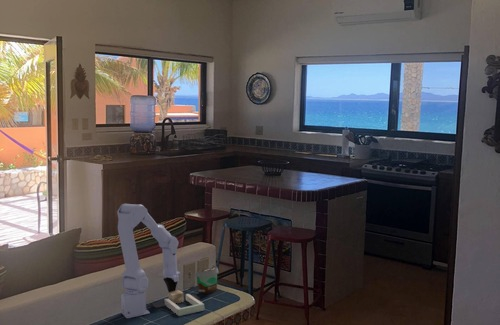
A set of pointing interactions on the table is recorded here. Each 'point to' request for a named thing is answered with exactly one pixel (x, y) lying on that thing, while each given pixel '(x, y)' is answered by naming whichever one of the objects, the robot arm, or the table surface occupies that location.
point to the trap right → (195, 296)
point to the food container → (207, 280)
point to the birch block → (176, 296)
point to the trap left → (159, 304)
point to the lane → (179, 311)
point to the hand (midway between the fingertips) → (172, 294)
